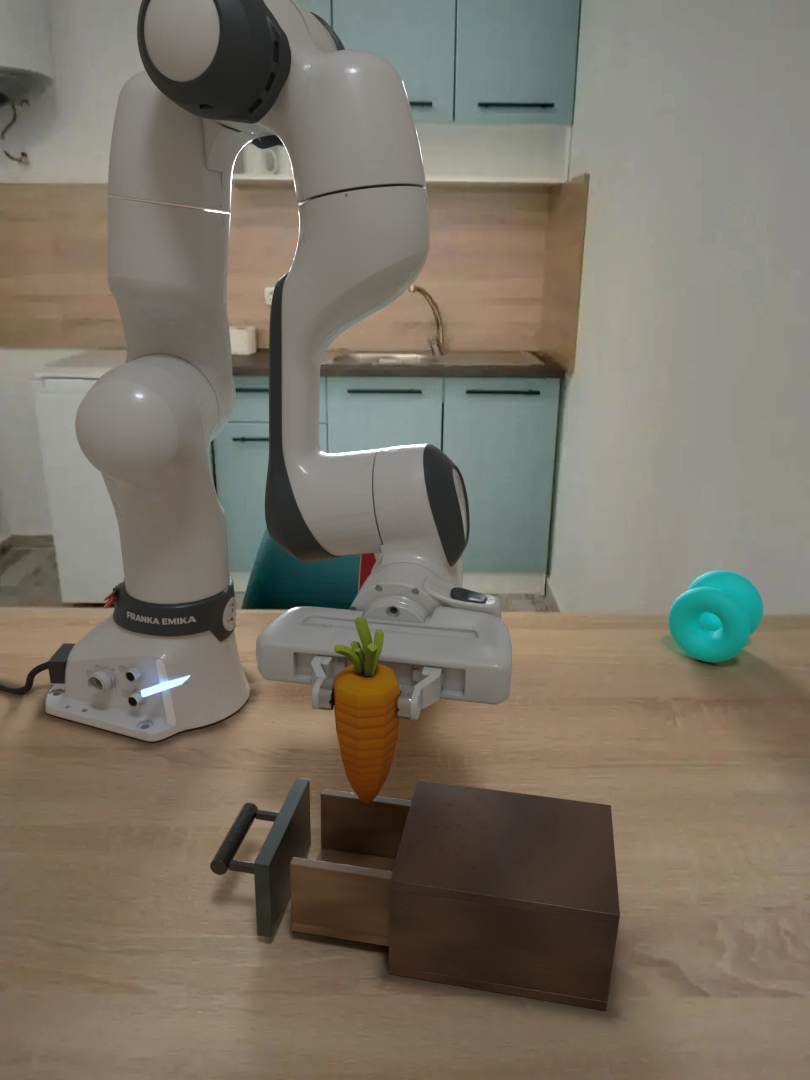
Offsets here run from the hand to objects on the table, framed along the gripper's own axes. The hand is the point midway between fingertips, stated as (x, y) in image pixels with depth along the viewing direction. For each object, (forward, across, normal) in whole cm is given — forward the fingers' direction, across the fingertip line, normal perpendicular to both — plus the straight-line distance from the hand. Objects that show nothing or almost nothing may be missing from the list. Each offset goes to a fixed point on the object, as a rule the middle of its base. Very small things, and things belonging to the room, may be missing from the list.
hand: (364, 706), depth 59 cm
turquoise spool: (-54, +35, +20) cm, 67 cm away
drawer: (-1, -2, +18) cm, 18 cm away
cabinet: (-1, +11, +19) cm, 22 cm away
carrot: (-1, 0, +9) cm, 9 cm away
